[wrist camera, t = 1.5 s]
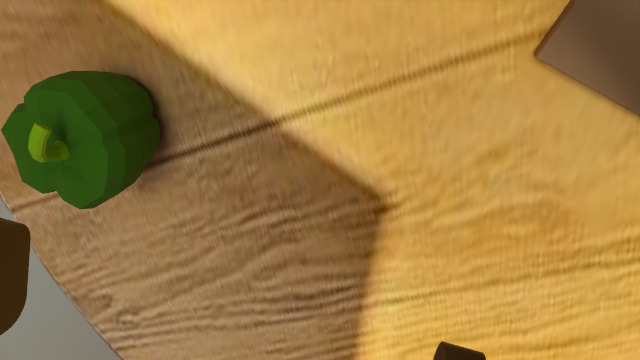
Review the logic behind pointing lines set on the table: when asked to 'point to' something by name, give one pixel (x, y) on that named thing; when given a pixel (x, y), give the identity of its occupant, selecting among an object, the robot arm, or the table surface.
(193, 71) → the table surface
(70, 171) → the bell pepper
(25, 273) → the robot arm
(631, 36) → the collar socket
